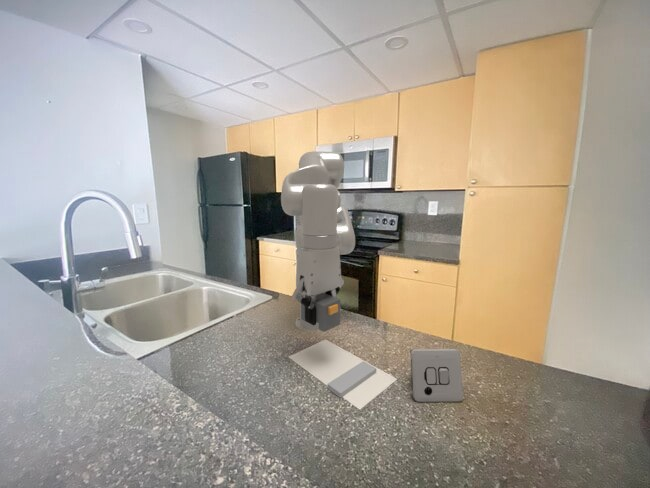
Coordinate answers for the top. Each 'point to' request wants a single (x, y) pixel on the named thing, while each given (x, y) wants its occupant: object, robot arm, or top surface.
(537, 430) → the top surface
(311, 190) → the robot arm
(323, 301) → the block
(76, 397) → the top surface
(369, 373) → the plate
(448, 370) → the electrical switch
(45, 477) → the top surface
